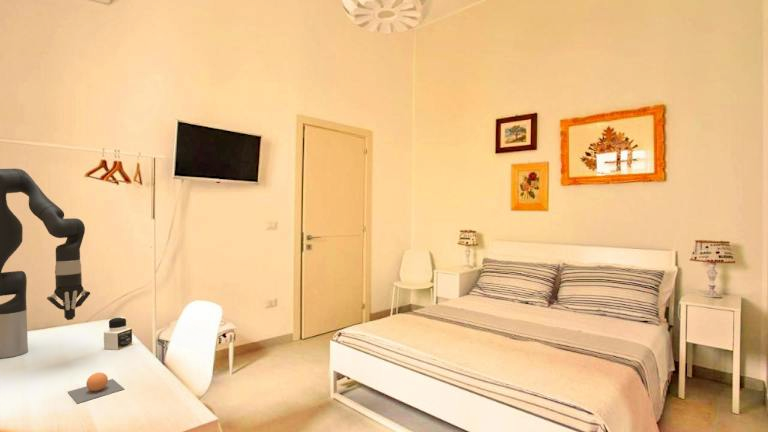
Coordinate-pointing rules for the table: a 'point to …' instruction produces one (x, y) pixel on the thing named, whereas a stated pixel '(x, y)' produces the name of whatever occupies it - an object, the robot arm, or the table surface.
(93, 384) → the ball
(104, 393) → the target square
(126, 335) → the medicine bottle
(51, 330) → the table surface
